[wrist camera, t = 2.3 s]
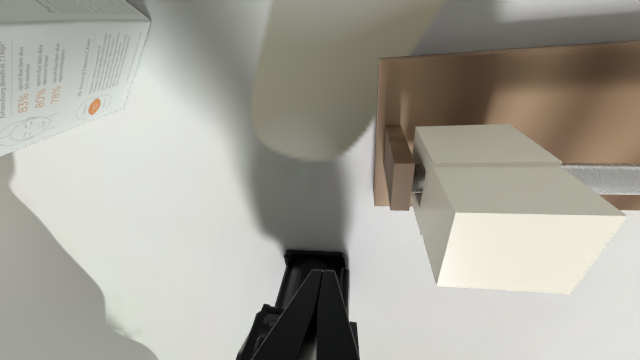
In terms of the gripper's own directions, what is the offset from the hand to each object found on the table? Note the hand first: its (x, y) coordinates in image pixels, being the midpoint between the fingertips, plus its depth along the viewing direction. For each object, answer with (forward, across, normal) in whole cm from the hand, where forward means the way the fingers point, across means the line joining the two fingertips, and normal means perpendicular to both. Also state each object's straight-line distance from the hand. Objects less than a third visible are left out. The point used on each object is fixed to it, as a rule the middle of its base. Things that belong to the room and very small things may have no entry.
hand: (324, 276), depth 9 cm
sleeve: (+9, -7, 0) cm, 11 cm away
